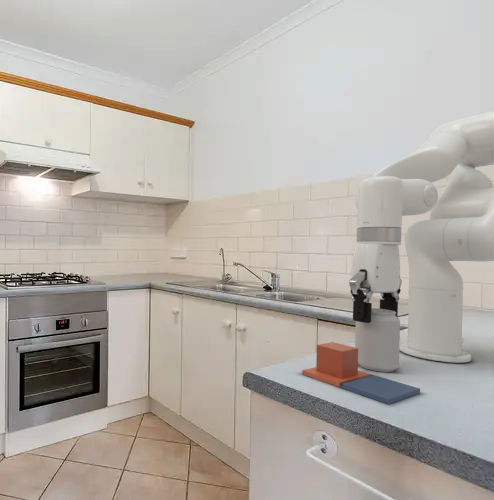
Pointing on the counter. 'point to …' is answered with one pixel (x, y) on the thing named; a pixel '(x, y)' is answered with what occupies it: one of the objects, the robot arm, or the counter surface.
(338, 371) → the terracotta block
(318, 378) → the sorting board
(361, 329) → the can
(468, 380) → the counter surface
